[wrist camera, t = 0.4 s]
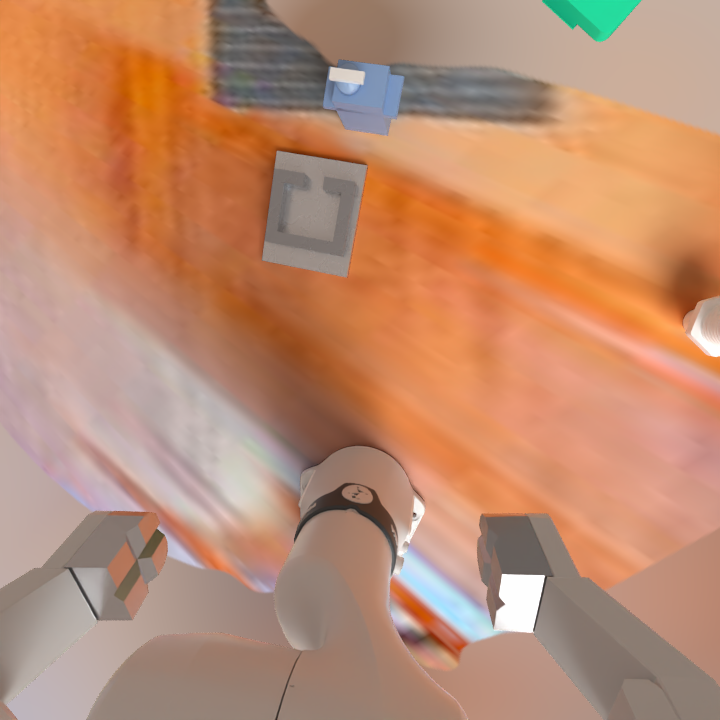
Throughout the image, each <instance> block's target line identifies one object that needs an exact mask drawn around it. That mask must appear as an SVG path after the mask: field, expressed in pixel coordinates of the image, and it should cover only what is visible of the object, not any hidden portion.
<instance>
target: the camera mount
mask: <svg viewBox="0 0 720 720" xmlns="http://www.w3.org/2000/svg"><path fill="white" fill-rule="evenodd" d="M542 2H543V3H544V4H545V5H546V6H547V7H548V8H549V9H550V10H552V11H553V12H554V13H555V14H556V15H557V16H558V17H559V18H560V19H561V20H562V21H563V22H565V23H566V24H567V25H568V26H569V27H570V28H571V29H572V30H573V29H574V28H575V26H576V25H577V24H578V25H579V26H580V27H581V28H582V29H583V30H584V31H585V32H586V33H588V35H589V36H591V37H592V38H593V39H594V40H595V41H598V42H601V41H604V40H606V39H607V38H609V36H610V35H611V34H612V33H613V32H614V31H615V30H616V29H617V28H618V26H619V25H620V24H621V23H622V22H623V21H624V20H625V19H626V17H627V16H628V15H629V14H630V13H631V12H632V10H633V9H634V8H635V7H636V6H637V5H638V4H639V3H640V2H641V0H542Z"/></svg>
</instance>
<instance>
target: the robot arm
mask: <svg viewBox="0 0 720 720" xmlns="http://www.w3.org/2000/svg"><path fill="white" fill-rule="evenodd" d="M300 491H301V499H300V501H299V507H300V516H301V520H300V522H299V525H298V528H297V531H296V534H295V538H294V545H293V547H292V549H291V551H290V552H289V554H288V556H287V558H286V560H285V562H284V564H283V566H282V568H281V570H280V572H279V575H278V577H277V580H276V584H275V590H274V605H275V611H276V615H277V618H278V620H279V623H280V626H281V628H282V630H283V632H284V635H285V637H286V638H287V640H288V642H289V643H290V644H291V646H292V647H293V648H294V649H293V648H288V647H283V646H278V645H274V644H270V643H265V642H261V641H256V640H252V639H247V638H243V637H238V636H234V635H230V634H225V633H186V634H168V635H160V636H157V637H154V638H153V639H151V640H149V641H148V642H147V643H145V644H144V645H143V646H141V647H140V648H139V649H137V650H136V651H135V652H134V653H133V654H132V655H131V656H130V657H129V658H128V659H127V660H125V662H124V663H123V664H122V665H121V666H120V667H119V668H118V670H117V671H116V672H115V673H114V674H113V675H112V677H111V678H110V679H109V681H108V682H107V684H106V685H105V686H104V688H103V690H102V691H101V693H100V694H99V696H98V698H97V699H96V701H95V703H94V705H93V707H92V709H91V711H90V713H89V715H88V717H87V719H86V720H469V719H468V717H467V715H466V713H465V712H464V710H463V708H462V707H461V706H460V704H459V703H458V701H457V700H456V699H455V698H454V697H453V696H451V695H450V694H449V693H448V692H447V691H445V690H444V689H443V688H442V687H441V686H439V685H438V684H437V683H436V682H435V681H434V680H433V679H432V678H431V677H430V676H429V675H428V674H427V673H426V672H425V671H424V670H423V668H422V667H421V666H420V665H419V664H418V663H417V661H416V660H415V659H414V657H413V656H412V655H411V653H410V652H409V650H408V649H407V647H406V646H405V644H404V643H403V641H402V639H401V637H400V636H399V634H398V632H397V630H396V627H395V625H394V623H393V620H392V617H391V613H390V579H391V577H392V575H393V573H394V574H397V575H399V574H400V572H401V569H402V566H403V562H404V558H403V557H402V555H403V554H404V553H406V552H407V549H408V546H409V542H410V540H411V538H412V536H413V534H414V532H415V530H416V528H417V526H418V524H419V522H420V520H421V518H422V516H423V514H424V512H425V507H426V505H425V502H424V501H423V499H422V498H421V497H420V496H419V495H418V494H417V493H416V492H415V491H414V490H413V488H412V487H411V485H410V482H409V480H408V477H407V475H406V473H405V471H404V470H403V468H402V467H401V466H400V465H399V464H398V462H397V461H395V460H394V459H393V458H392V457H391V456H389V455H388V454H386V453H384V452H382V451H380V450H378V449H375V448H372V447H366V446H351V447H346V448H343V449H340V450H338V451H336V452H334V453H333V454H331V455H330V456H329V457H328V458H327V459H325V460H324V461H323V462H322V463H321V464H319V465H317V466H314V467H311V468H308V469H306V470H304V471H303V472H302V475H301V477H300ZM413 512H415V513H416V515H413ZM159 524H160V521H159V519H158V517H157V514H156V513H152V512H130V511H94V512H93V513H91V514H89V515H88V516H87V517H86V518H85V519H84V520H83V521H82V523H81V524H80V525H79V526H78V527H77V528H76V529H75V530H74V531H73V533H72V534H71V535H70V536H69V537H68V538H67V539H66V540H65V542H64V543H63V544H62V545H61V546H60V547H59V548H58V549H57V550H56V552H55V553H54V554H53V555H52V556H51V557H50V558H49V559H48V561H47V562H46V563H45V564H44V565H43V566H42V567H41V568H34V569H33V570H31V571H29V572H27V573H26V574H24V575H22V576H21V577H19V578H17V579H16V580H14V581H13V582H11V583H9V584H8V585H6V586H4V587H3V588H1V589H0V720H17V718H16V717H15V716H14V714H13V713H12V712H11V711H10V710H9V708H8V707H7V706H6V705H7V704H8V703H9V702H10V701H11V700H12V699H14V698H15V697H16V696H17V695H18V694H19V693H20V692H21V691H22V690H24V689H25V688H26V687H27V686H28V685H29V684H30V683H31V682H32V681H34V680H35V679H36V678H37V677H38V676H39V675H40V674H41V673H42V672H44V671H45V669H47V668H48V667H49V666H50V665H51V664H52V663H53V662H55V661H56V660H57V659H58V658H59V657H60V656H61V655H62V654H64V653H65V652H66V651H67V650H68V649H69V648H70V647H71V646H72V645H74V644H75V643H76V642H77V641H78V640H79V639H80V638H81V637H82V636H83V635H85V634H86V633H87V632H88V631H89V630H90V629H91V628H92V627H93V626H95V625H96V624H97V622H98V621H97V620H133V619H134V617H135V615H136V613H137V611H138V610H139V608H140V607H141V605H142V603H143V601H144V599H145V598H146V596H147V594H148V585H147V584H148V583H149V582H150V581H151V580H153V579H154V578H155V577H157V576H158V575H159V573H160V571H161V569H162V568H163V566H164V563H165V560H166V556H167V552H168V547H167V540H166V537H165V535H164V534H163V533H161V532H160V531H159V530H158V529H157V527H158V525H159ZM479 526H480V530H481V533H482V535H481V536H480V537H479V538H478V543H477V557H478V566H479V571H480V576H481V580H482V582H483V583H484V584H485V585H486V586H487V587H488V590H487V599H486V600H487V604H488V608H489V612H490V616H491V620H492V624H493V628H494V630H501V631H518V632H534V635H535V637H536V638H537V639H538V640H539V642H540V643H541V644H542V645H543V646H544V647H545V649H546V650H547V651H548V653H549V654H550V655H551V656H552V657H553V659H554V660H555V661H556V662H557V664H558V665H559V666H560V667H561V668H562V670H563V671H564V672H565V673H566V674H567V676H568V677H569V678H570V679H571V680H572V682H573V683H574V684H575V685H576V687H577V688H578V689H579V690H580V692H581V693H582V694H583V695H584V696H585V698H586V699H587V700H588V701H589V703H591V705H592V706H593V707H594V709H595V710H596V711H597V712H598V713H599V715H600V716H601V717H602V718H603V720H720V687H719V686H718V684H717V683H716V681H715V680H714V679H713V678H711V677H710V676H709V675H708V674H706V673H705V672H704V671H703V670H701V669H700V668H699V667H698V666H696V665H695V664H694V663H693V662H692V661H690V660H689V659H688V658H686V657H685V656H684V655H683V654H682V653H680V652H679V651H678V650H677V649H676V648H674V647H673V646H672V645H671V644H669V643H668V642H667V641H666V640H665V639H663V638H662V637H661V636H659V635H658V634H657V633H656V632H654V631H653V630H652V629H651V628H650V627H648V626H647V625H646V624H645V623H643V622H642V621H641V620H640V619H639V618H637V617H636V616H635V615H634V614H632V613H631V612H630V611H629V610H627V609H626V608H625V607H624V606H623V605H621V604H620V603H619V602H617V601H616V600H615V599H614V598H613V597H611V596H610V595H609V594H608V593H607V592H605V591H604V590H603V589H602V588H600V587H599V586H598V585H597V584H595V583H594V582H593V581H592V580H591V579H589V578H585V577H581V576H580V574H579V572H578V570H577V568H576V566H575V564H574V562H573V560H572V558H571V556H570V554H569V552H568V550H567V548H566V546H565V544H564V542H563V540H562V538H561V536H560V534H559V532H558V530H557V528H556V526H555V524H554V522H553V520H552V518H551V517H550V516H549V515H548V514H523V513H502V514H482V515H481V517H480V524H479Z"/></svg>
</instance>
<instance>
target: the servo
mask: <svg viewBox="0 0 720 720" xmlns="http://www.w3.org/2000/svg"><path fill="white" fill-rule="evenodd" d="M403 83H404V76H398V75H391V73H390V66H385V65H377V64H369V63H361V62H354V61H346V60H338V66H337V67H331V66H329V70H328V76H327V82H326V89H325V95H324V102H323V107H324V109H331V110H336V111H337V113H338V115H339V117H340V119H341V121H342V123H343V125H344V127H345V129H347V130H354V131H360V132H367V133H373V134H380V135H387V136H388V133H389V127H390V122H391V118H392V119H397V114H398V109H399V104H400V98H401V93H402V88H403Z"/></svg>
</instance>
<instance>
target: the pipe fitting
mask: <svg viewBox="0 0 720 720" xmlns="http://www.w3.org/2000/svg"><path fill="white" fill-rule="evenodd" d="M683 327H684V329H685V330H686V332H685V333H686V335H687V336H688V337H689V338H690V339H691V340H692V341H693V342H694V343H695V344H696V345H697V346H698V347H699V348H700V349H701V350H702V351H703V352H704V353H705V354H707V355H709V356H714V357H717V356H720V296H716V297H713V298H709V299H705V300H701V301H699V302H698V303H697V305H696V307H695V309H694V310H691V311H690V312H688V313H687V314H686V315H685V317H684V319H683Z"/></svg>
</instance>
